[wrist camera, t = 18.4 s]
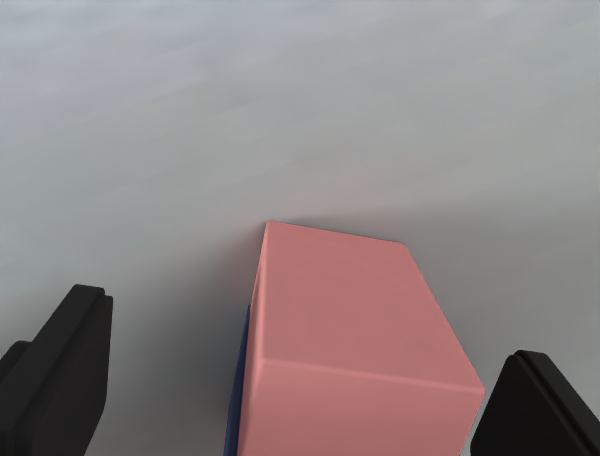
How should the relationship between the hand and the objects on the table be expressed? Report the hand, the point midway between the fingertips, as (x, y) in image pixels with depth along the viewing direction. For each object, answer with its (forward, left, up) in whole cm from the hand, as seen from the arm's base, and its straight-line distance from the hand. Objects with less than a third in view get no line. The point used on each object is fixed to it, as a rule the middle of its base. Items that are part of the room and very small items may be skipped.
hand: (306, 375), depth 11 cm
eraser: (0, 0, -1) cm, 1 cm away
